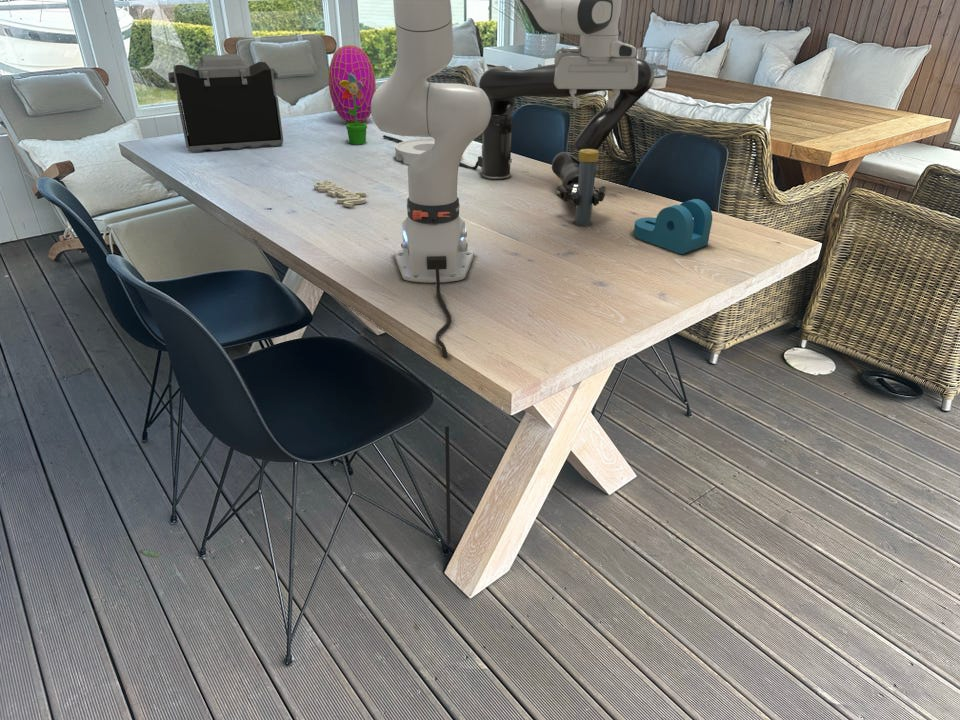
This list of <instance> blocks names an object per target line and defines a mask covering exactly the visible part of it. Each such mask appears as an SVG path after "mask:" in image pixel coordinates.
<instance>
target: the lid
mask: <svg viewBox="0 0 960 720" xmlns="http://www.w3.org/2000/svg"><path fill="white" fill-rule="evenodd" d="M599 155H600V152H599V149H597V150H594V149H581V150H580V151H578V160H579V161H583V162H596V163H597V162H598V161H599Z"/></svg>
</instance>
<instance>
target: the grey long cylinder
mask: <svg viewBox="0 0 960 720" xmlns="http://www.w3.org/2000/svg"><path fill="white" fill-rule="evenodd" d="M579 161H580V160H579ZM596 170H597V161H596V162H583V161H580V167H579V178H578V190H577V195H578V197H579V203H578V206H575V215H574V224H575V225H577V226H580V227H581V226H582V227H585V226H590V225H591V221H592V213H593V192H594V186H595V179H596Z"/></svg>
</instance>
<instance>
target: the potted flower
mask: <svg viewBox="0 0 960 720" xmlns="http://www.w3.org/2000/svg"><path fill="white" fill-rule="evenodd" d="M348 78H349V81H346V80H342V81H341V82H340V83H339V84H340V85H341V86H342V87H343V88H346V89H347V90H345V91H344V93H343V94H342V97H341V99H348V98H350V97H351V96H352V95H353V100H354V110H349V111H348V112H349V114H351V115H355V123H349V122H348V123H347V124H346V125H345V128H346V131H347V136H348V141H349V144H352V145H363V144H366V143H367V129H368V124H367V123H366V122H365V123H364V122H361V123H357V116H356V110H358V109H359V106H356V103H355V95H356V97H357V98H358V99H359V100H362V98H363V93H362V92H361V91H360V90H361V89H363V84H362V82H361V81H358V82H357V83H356V78H355V76H354V75H352V74H350V73H348Z"/></svg>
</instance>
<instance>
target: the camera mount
mask: <svg viewBox="0 0 960 720" xmlns="http://www.w3.org/2000/svg"><path fill="white" fill-rule="evenodd" d="M712 223H713V213H712V209H711V208H710V206H709V205H708V203H706V201H704V200H702V199H698V198H693V199H689V200H686V201H682V202H681V203H680V204H673V205H670V206H667V207H664V208H662V209H661V210H660V211H659V212H658V214H657V215H656V217H651V216H650V217H648V216H647V217H641V218H637V219H636V220H635V221H634V225H633V226H634V227H633V234H632V235H633V236H634V237H635V238H637V239H639V240H640V241H644V242H646V243H650V244H651V245H654V246H658V247H660V248H662V249H666V250H668V251H672V252H674V253H677V254H679V255H684V254H687V253H690V252H693V251H695V250H697V249H700V248H702V247H706V246H708V245H709V239H710V234H711V229H712V225H713V224H712Z"/></svg>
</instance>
